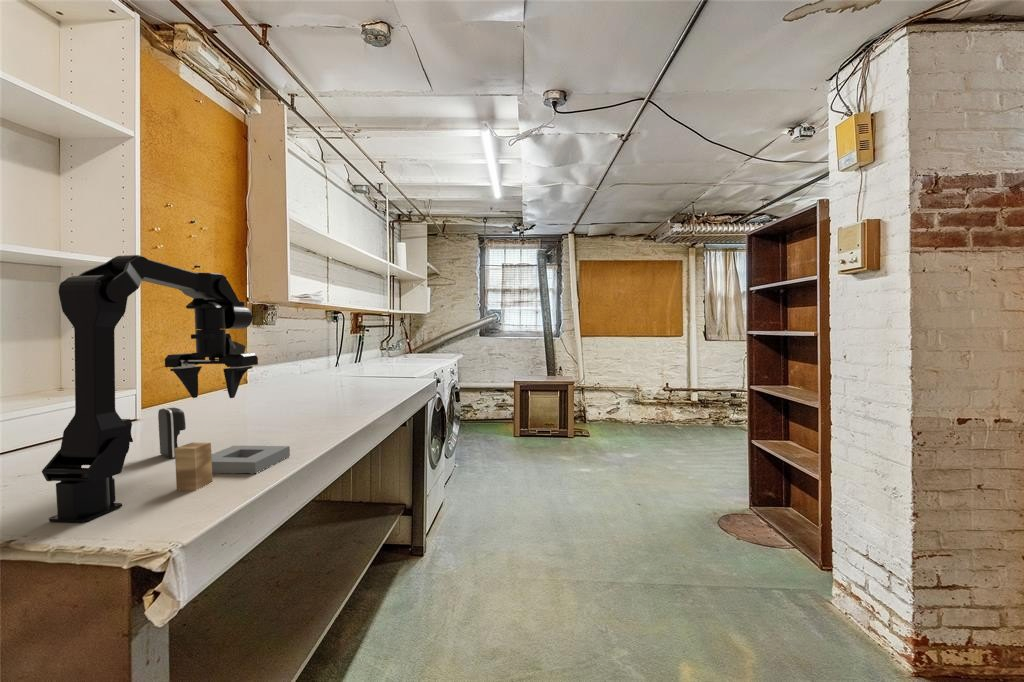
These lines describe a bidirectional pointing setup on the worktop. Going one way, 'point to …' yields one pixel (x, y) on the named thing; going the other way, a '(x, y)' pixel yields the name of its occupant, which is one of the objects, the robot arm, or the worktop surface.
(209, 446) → the wood grain block
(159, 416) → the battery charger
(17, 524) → the worktop surface
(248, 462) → the socket plate
